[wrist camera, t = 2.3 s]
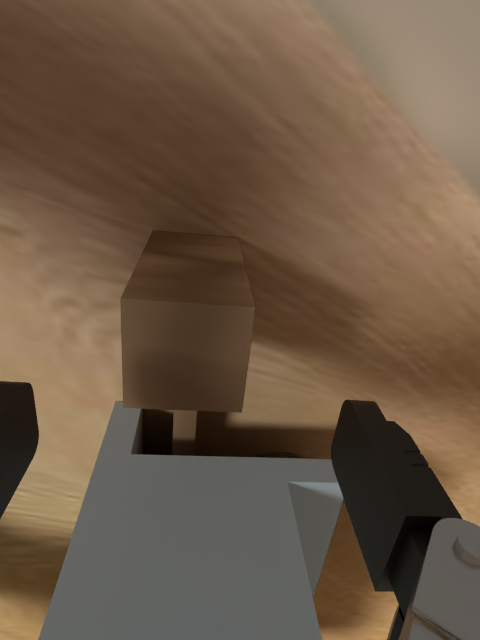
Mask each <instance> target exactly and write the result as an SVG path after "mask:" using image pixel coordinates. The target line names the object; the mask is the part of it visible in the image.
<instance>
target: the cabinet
mask: <svg viewBox="0 0 480 640" xmlns="http://www.w3.org/2000/svg"><path fill="white" fill-rule="evenodd" d="M342 503H343V496H342V493H341V490H340V487H339V484H338V481H337V478H336V475H335V472H334V469H333V466H332V460H331V459H298V458H258V457H219V456H179V455H142V409H137V408H123V402H115V405H114V408H113V411H112V414H111V417H110V420H109V423H108V426H107V430H106V433H105V436H104V439H103V442H102V445H101V448H100V451H99V454H98V457H97V460H96V463H95V467H94V470H93V473H92V476H91V479H90V482H89V485H88V488H87V491H86V494H85V497H84V501H83V504H82V507H81V510H80V513H79V516H78V519H77V522H76V525H75V528H74V531H73V534H72V538H71V541H70V544H69V547H68V550H67V553H66V556H65V559H64V562H63V565H62V568H61V572H60V575H59V578H58V581H57V584H56V587H55V590H54V593H53V596H52V599H51V602H50V606H49V609H48V612H47V615H46V618H45V621H44V624H43V627H42V630H41V633H40V636H39V639H38V640H322V637H321V633H320V628H319V624H318V619H317V615H316V610H315V605H314V601H313V597H314V594H315V591H316V587H317V584H318V581H319V578H320V574H321V571H322V568H323V564H324V561H325V558H326V555H327V551H328V548H329V545H330V542H331V538H332V535H333V532H334V529H335V525H336V522H337V519H338V516H339V512H340V509H341V506H342Z"/></svg>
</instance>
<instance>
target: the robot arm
mask: <svg viewBox="0 0 480 640" xmlns="http://www.w3.org/2000/svg"><path fill="white" fill-rule="evenodd" d="M38 439H39V430H38V422H37V415H36V408H35V401H34V394H33V388H32V386H31V384H30V383H25V382H5V381H0V518H1V517H2V515H3V513H4V511H5V509H6V507H7V505H8V504H9V502H10V500H11V498H12V496H13V494H14V492H15V491H16V489H17V487H18V485H19V483H20V481H21V479H22V478H23V476H24V474H25V472H26V470H27V468H28V466H29V465H30V463H31V461H32V459H33V457H34V455H35V452H36V449H37V445H38ZM331 460H332V466H333V469H334V472H335V475H336V478H337V481H338V484H339V487H340V490H341V493H342V496H343V499H344V501H345V504H346V507H347V510H348V513H349V516H350V519H351V522H352V525H353V528H354V530H355V533H356V536H357V539H358V542H359V545H360V548H361V551H362V554H363V557H364V560H365V562H366V565H367V568H368V571H369V574H370V577H371V580H372V583H373V586H374V589H375V591H394V593H395V595H396V598H397V601H398V603H399V605H398V607H397V609H396V612H395V615H394V618H393V621H392V625H391V628H390V631H389V634H388V638H387V640H480V527H479V526H477V525H476V524H473V523H471V522H469V521H466V520H463V519H462V517H461V516H460V514H459V513H458V511H457V509H456V508H455V506H454V505H453V503H452V501H451V500H450V498H449V497H448V495H447V493H446V492H445V490H444V489H443V487H442V485H441V484H440V482H439V481H438V479H437V477H436V476H435V474H434V473H433V471H432V469H431V468H429V467H428V463H427V461H426V460H425V458H424V457H423V455H421V454H420V450H419V449H418V447H417V445H416V444H415V442H414V441H413V439H412V437H411V436H410V435H409V434H408V433H407V432H406V431H405V430H403V429H402V428H401V427H400V426H399V425H398V424H396V423H395V422H394V421H386V419H385V417H384V415H383V414H382V412H381V410H380V408H379V407H378V405H377V404H376V403H375V402H374V401H359V400H345V401H344V403H343V405H342V408H341V411H340V415H339V419H338V423H337V427H336V430H335V434H334V438H333V442H332V447H331Z"/></svg>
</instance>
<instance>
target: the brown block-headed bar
mask: <svg viewBox="0 0 480 640" xmlns="http://www.w3.org/2000/svg"><path fill="white" fill-rule="evenodd" d="M255 310H256V306H255V302H254V298H253V294H252V291H251V287H250V283H249V279H248V275H247V271H246V267H245V263H244V259H243V255H242V251H241V247H240V243H239V239H238V238H234V237H223V236H211V235H199V234H187V233H176V232H164V231H153V232H152V234H151V236H150V238H149V241H148V243H147V245H146V247H145V249H144V251H143V253H142V255H141V257H140V259H139V261H138V263H137V265H136V267H135V270H134V272H133V274H132V276H131V278H130V280H129V282H128V284H127V286H126V288H125V290H124V292H123V294H122V297H121V336H122V375H123V408H137V409H163V410H174V417H173V441H172V455H179V456H194V447H195V433H196V419H197V411H216V412H242V407H243V399H244V392H245V385H246V377H247V370H248V362H249V355H250V347H251V340H252V332H253V325H254V317H255Z"/></svg>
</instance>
